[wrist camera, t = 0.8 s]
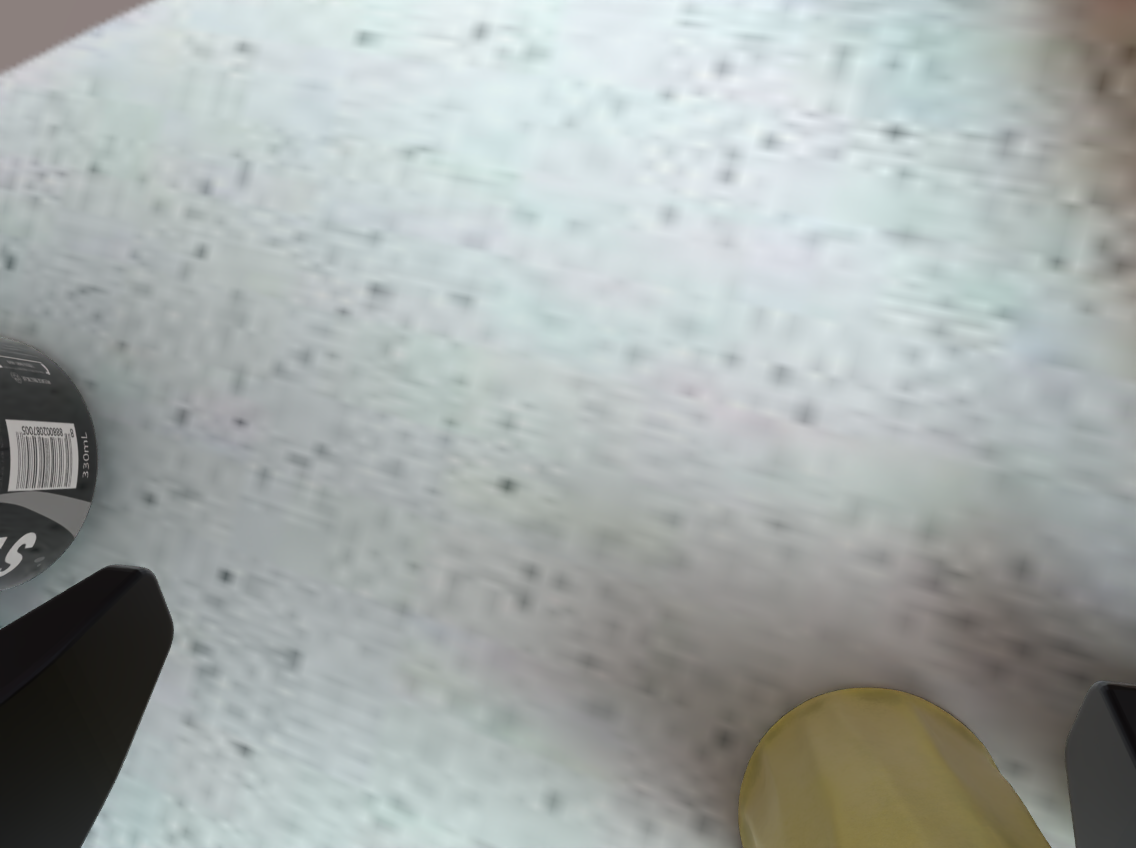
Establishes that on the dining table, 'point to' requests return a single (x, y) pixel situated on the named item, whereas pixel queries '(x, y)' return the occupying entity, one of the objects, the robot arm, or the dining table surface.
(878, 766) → the vase
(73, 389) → the beverage can
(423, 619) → the dining table surface
